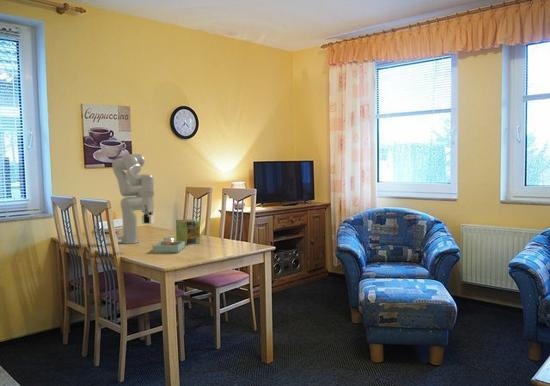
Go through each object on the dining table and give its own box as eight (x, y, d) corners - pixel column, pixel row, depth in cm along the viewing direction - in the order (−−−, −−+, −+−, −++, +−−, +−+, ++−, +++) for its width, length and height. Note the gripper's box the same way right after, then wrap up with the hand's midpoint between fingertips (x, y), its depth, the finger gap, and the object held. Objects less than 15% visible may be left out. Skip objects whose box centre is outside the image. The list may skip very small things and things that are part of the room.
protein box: (186, 245, 316) (186, 222, 314) (176, 242, 327) (175, 220, 326) (200, 243, 322) (200, 220, 321) (189, 240, 334) (188, 218, 333)
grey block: (141, 223, 298) (141, 216, 298) (144, 222, 304) (144, 214, 304) (151, 223, 298) (151, 216, 297) (154, 222, 304) (153, 214, 303)
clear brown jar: (162, 249, 294) (162, 238, 294) (165, 247, 301) (165, 237, 300) (172, 249, 294) (172, 238, 294) (175, 247, 300) (175, 237, 300)
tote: (152, 252, 290) (152, 245, 290) (160, 248, 306) (160, 241, 306) (178, 253, 289) (178, 245, 288) (184, 248, 305) (184, 241, 304)
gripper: (146, 193, 308) (147, 220, 310) (136, 195, 291) (137, 224, 292) (157, 193, 308) (158, 220, 309) (148, 195, 291) (149, 224, 292)
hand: (148, 222), depth 301 cm, fingers closed on grey block, 6 cm apart
